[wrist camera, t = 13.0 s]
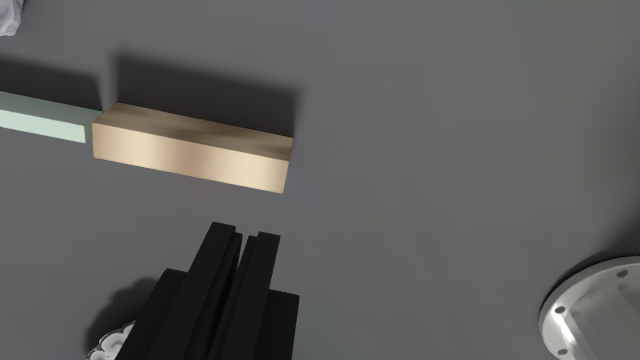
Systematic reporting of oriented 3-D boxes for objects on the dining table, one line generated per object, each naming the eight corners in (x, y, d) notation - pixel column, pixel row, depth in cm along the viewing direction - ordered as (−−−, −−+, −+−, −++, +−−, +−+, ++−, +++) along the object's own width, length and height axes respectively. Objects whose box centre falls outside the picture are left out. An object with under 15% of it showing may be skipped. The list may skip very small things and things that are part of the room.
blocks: (361, -204, 21) (366, -227, 18) (287, 167, 31) (282, 193, 28) (106, -274, 20) (65, -311, 17) (118, 134, 30) (94, 157, 27)
